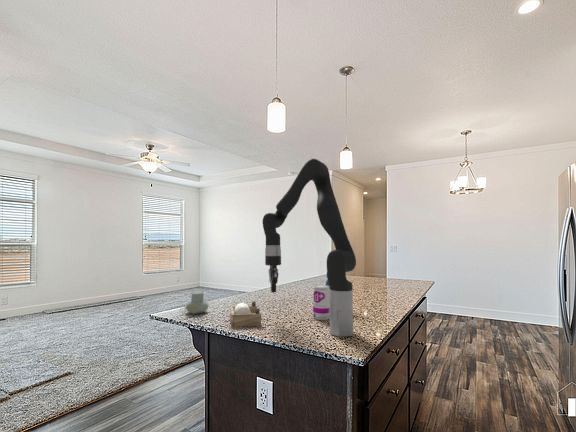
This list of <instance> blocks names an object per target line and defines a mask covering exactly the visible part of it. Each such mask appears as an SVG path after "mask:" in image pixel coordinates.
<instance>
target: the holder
mask: <svg viewBox="0 0 576 432" xmlns="http://www.w3.org/2000/svg"><path fill="white" fill-rule="evenodd" d="M256 303H257V302H256V301H251V305H248V307H249V309H250V311H251V314H235V313H234V309H235V307H236V306H237V305H236V306H230V309H229V310H230V311H229V312H230V313H229V314H230V315H229V317H230V319H231V320H230V326H231V328H236V327H237V328H238V327H239V326H240V327H255V326H262V312H260V308H258V305H256Z"/></svg>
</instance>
